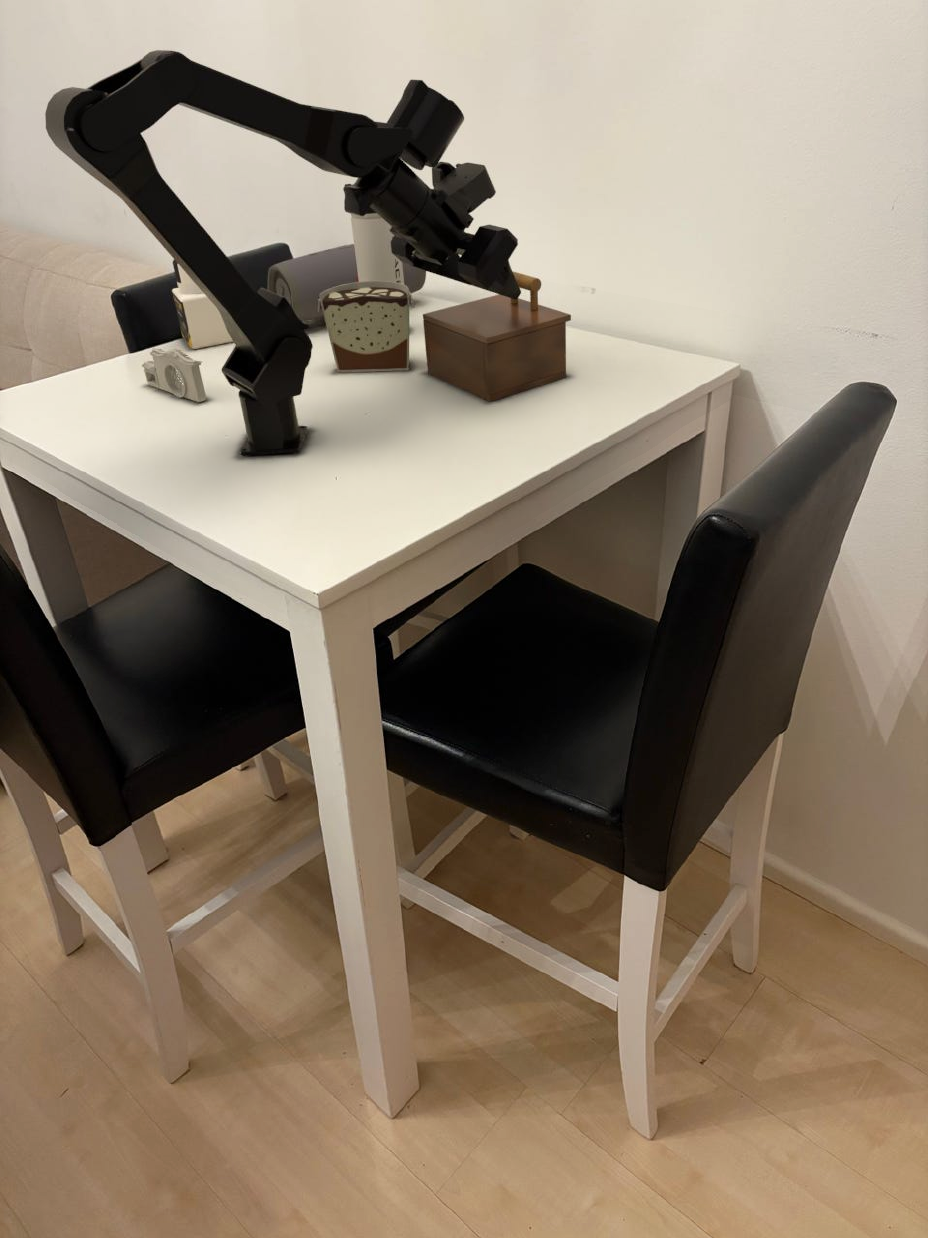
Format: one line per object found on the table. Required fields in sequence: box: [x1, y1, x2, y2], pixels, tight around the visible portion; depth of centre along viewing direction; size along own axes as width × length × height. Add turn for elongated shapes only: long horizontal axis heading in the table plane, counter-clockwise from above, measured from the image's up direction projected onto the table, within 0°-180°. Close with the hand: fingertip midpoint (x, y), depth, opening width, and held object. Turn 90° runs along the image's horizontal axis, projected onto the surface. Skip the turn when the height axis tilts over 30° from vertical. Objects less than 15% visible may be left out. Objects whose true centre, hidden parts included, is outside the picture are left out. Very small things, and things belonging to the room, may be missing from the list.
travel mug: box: [344, 183, 404, 284], centre depth 133 cm, size 6×7×20 cm
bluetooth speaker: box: [267, 243, 427, 324], centre depth 145 cm, size 23×9×10 cm, turn 126°
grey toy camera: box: [141, 347, 207, 403], centre depth 122 cm, size 12×2×6 cm, turn 48°
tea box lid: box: [422, 270, 572, 344], centre depth 116 cm, size 12×14×4 cm
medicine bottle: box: [171, 258, 234, 350], centre depth 139 cm, size 7×7×12 cm
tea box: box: [422, 320, 567, 402], centre depth 119 cm, size 12×14×7 cm
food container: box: [318, 281, 415, 373], centre depth 125 cm, size 12×6×10 cm, turn 84°
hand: (495, 288), depth 116 cm, fingers open, 9 cm apart
